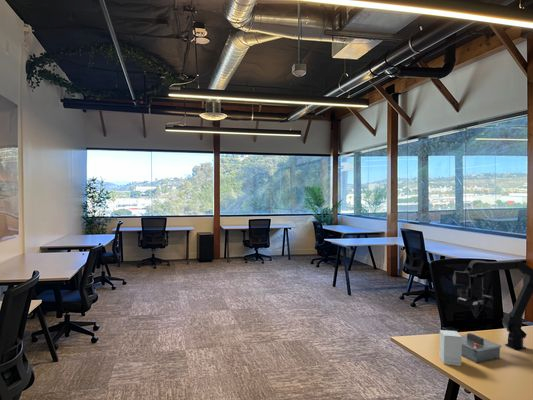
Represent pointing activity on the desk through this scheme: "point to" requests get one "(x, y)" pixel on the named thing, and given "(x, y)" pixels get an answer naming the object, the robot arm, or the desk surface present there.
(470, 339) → the lid
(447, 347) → the supplement box
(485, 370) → the desk surface
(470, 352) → the grey open box
